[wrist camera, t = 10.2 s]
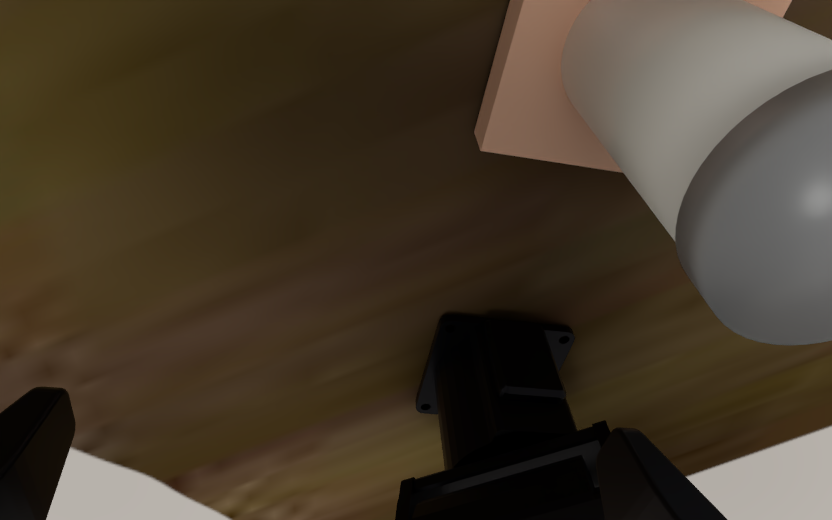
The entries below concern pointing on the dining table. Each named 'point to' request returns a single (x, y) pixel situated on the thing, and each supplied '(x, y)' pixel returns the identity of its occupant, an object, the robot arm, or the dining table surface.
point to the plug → (721, 148)
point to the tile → (543, 88)
